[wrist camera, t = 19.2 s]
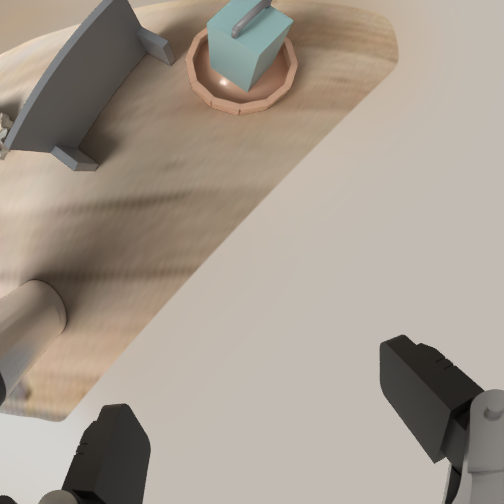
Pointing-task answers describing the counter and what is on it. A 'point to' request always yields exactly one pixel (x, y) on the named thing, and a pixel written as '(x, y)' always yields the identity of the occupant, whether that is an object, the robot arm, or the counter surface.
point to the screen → (84, 83)
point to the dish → (230, 95)
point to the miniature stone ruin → (4, 133)
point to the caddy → (246, 40)
